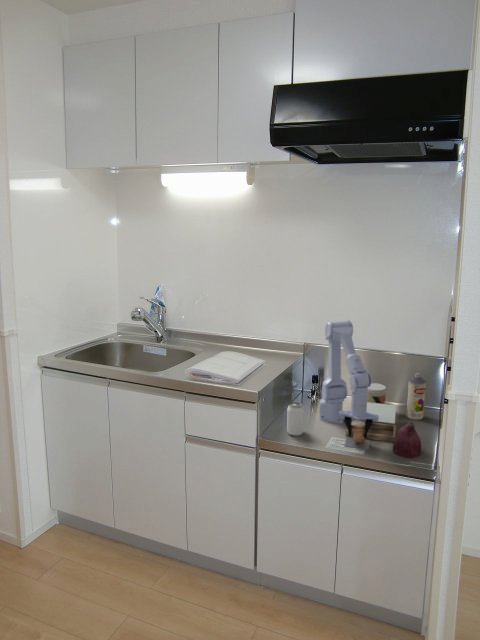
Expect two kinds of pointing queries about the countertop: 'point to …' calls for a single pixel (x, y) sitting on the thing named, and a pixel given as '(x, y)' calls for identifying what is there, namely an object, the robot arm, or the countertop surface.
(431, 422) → the countertop surface
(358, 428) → the pot
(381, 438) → the brown rectangular frame
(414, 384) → the aerosol can
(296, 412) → the can
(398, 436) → the vegetable
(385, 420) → the lid
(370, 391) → the coffee cup
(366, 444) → the slate mat
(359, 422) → the glazed pot
